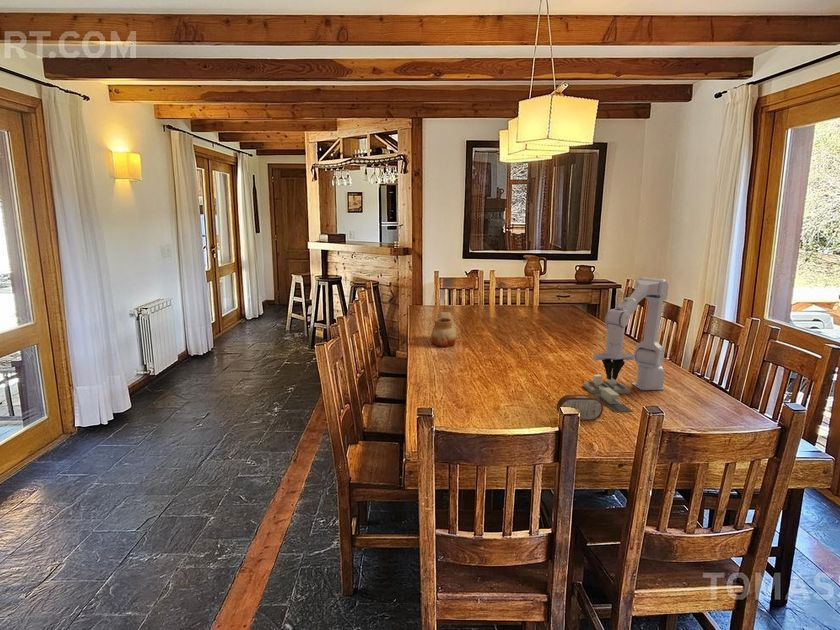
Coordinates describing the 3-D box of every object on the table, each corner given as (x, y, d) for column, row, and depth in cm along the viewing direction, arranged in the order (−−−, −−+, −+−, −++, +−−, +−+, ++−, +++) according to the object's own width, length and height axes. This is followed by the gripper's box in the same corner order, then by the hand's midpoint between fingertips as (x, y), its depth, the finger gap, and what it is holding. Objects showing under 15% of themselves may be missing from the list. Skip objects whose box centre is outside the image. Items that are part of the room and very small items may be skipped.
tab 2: (613, 383, 206) (614, 374, 205) (616, 384, 203) (617, 376, 202) (606, 383, 205) (607, 374, 205) (609, 385, 203) (610, 376, 202)
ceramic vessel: (457, 337, 288) (458, 310, 285) (456, 348, 262) (457, 319, 259) (433, 336, 289) (433, 309, 286) (429, 347, 263) (430, 318, 260)
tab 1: (599, 383, 205) (600, 374, 204) (601, 385, 203) (602, 376, 202) (591, 383, 205) (592, 374, 204) (594, 385, 202) (595, 376, 202)
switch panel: (619, 385, 207) (619, 379, 207) (629, 393, 199) (630, 387, 198) (583, 386, 206) (583, 380, 206) (592, 393, 197) (592, 387, 197)
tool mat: (610, 394, 197) (610, 393, 197) (633, 411, 179) (633, 411, 179) (592, 394, 196) (592, 394, 196) (613, 412, 179) (613, 411, 179)
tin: (599, 418, 173) (601, 394, 172) (603, 421, 170) (605, 397, 169) (555, 417, 173) (557, 393, 171) (558, 421, 170) (559, 397, 168)
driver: (608, 396, 194) (609, 387, 193) (624, 409, 181) (625, 399, 181) (600, 396, 194) (601, 387, 193) (616, 409, 181) (617, 399, 180)
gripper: (600, 345, 181) (596, 382, 184) (639, 345, 182) (636, 382, 185) (591, 340, 188) (588, 376, 191) (630, 340, 189) (626, 376, 192)
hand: (611, 378), depth 188 cm, fingers closed
